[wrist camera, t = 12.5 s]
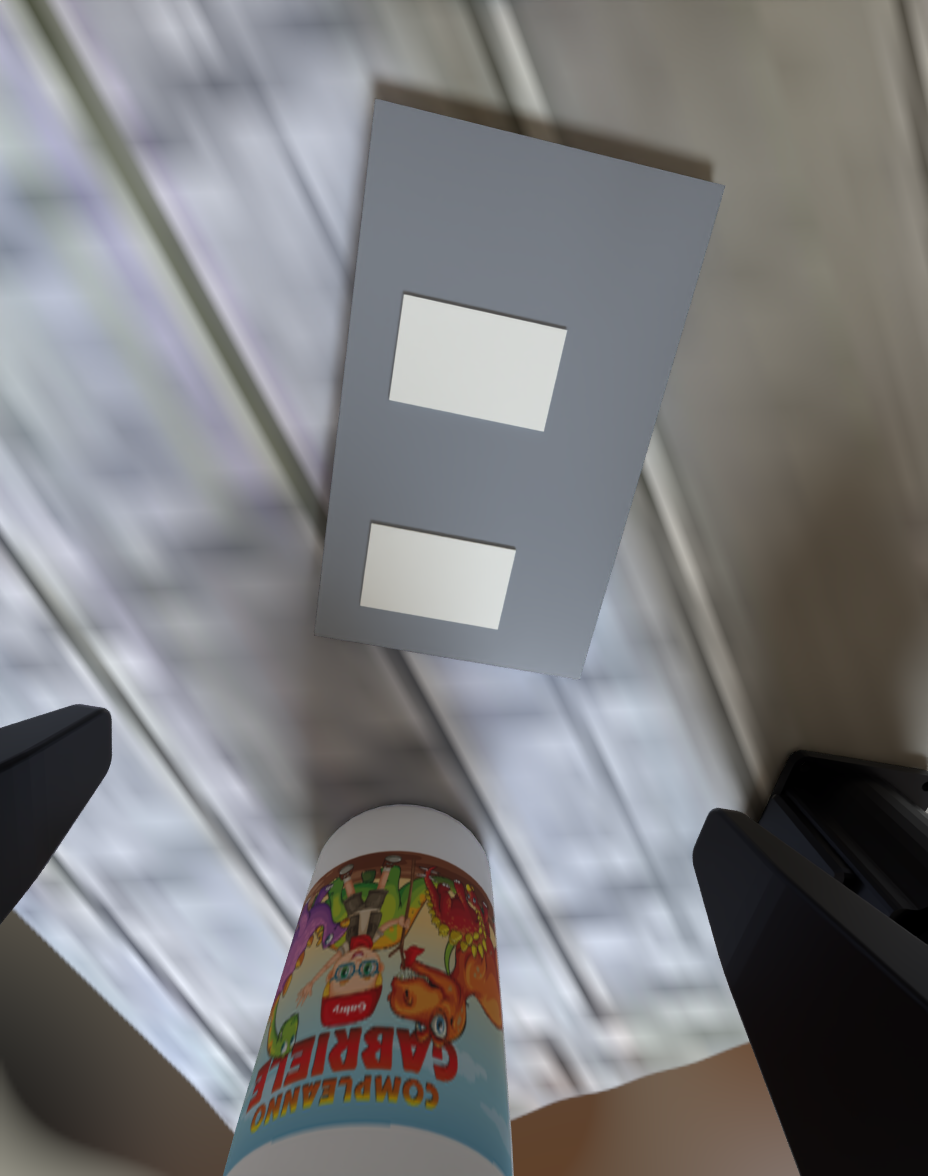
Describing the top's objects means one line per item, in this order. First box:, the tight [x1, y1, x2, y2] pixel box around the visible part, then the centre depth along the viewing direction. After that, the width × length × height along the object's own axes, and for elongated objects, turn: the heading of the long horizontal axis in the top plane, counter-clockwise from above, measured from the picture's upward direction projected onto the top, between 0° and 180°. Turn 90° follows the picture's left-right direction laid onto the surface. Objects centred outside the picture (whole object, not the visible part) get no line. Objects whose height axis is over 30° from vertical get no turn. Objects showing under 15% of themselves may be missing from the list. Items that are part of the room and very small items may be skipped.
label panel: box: [314, 99, 725, 680], centre depth 17 cm, size 10×16×1 cm, turn 169°
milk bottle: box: [223, 804, 513, 1176], centre depth 14 cm, size 8×8×20 cm
